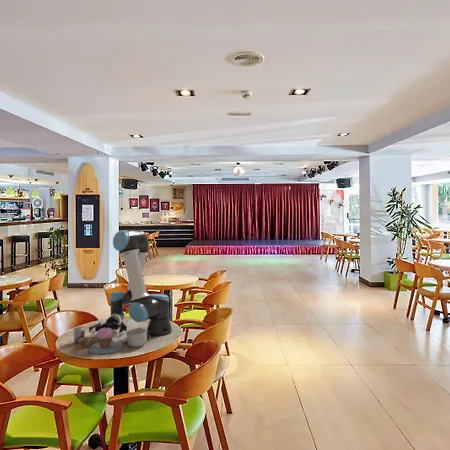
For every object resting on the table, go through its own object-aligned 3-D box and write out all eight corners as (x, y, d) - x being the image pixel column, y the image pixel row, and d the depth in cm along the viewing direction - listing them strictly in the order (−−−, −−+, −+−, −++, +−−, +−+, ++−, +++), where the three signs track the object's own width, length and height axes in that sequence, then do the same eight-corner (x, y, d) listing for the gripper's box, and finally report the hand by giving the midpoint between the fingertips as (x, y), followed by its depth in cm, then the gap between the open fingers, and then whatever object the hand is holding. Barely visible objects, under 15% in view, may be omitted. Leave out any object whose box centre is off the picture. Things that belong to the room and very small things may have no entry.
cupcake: (93, 346, 196) (93, 327, 196) (109, 342, 202) (108, 324, 202) (101, 350, 190) (101, 331, 190) (116, 346, 196) (116, 327, 196)
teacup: (141, 349, 195) (141, 334, 194) (123, 348, 197) (122, 333, 197) (152, 340, 208) (151, 326, 208) (134, 339, 210) (134, 325, 210)
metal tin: (86, 340, 208) (86, 326, 208) (81, 344, 203) (81, 330, 203) (77, 340, 209) (77, 326, 209) (72, 343, 203) (72, 329, 203)
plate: (126, 343, 204) (126, 341, 204) (114, 355, 187) (114, 352, 187) (97, 342, 205) (97, 340, 205) (83, 353, 188) (83, 351, 188)
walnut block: (92, 344, 204) (92, 336, 204) (90, 347, 198) (89, 340, 198) (80, 344, 203) (80, 337, 203) (78, 348, 197) (78, 341, 197)
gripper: (135, 327, 215) (128, 339, 194) (91, 328, 213) (80, 341, 192) (134, 315, 215) (128, 325, 194) (91, 316, 213) (80, 327, 192)
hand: (104, 333), depth 193 cm, fingers open, 13 cm apart
